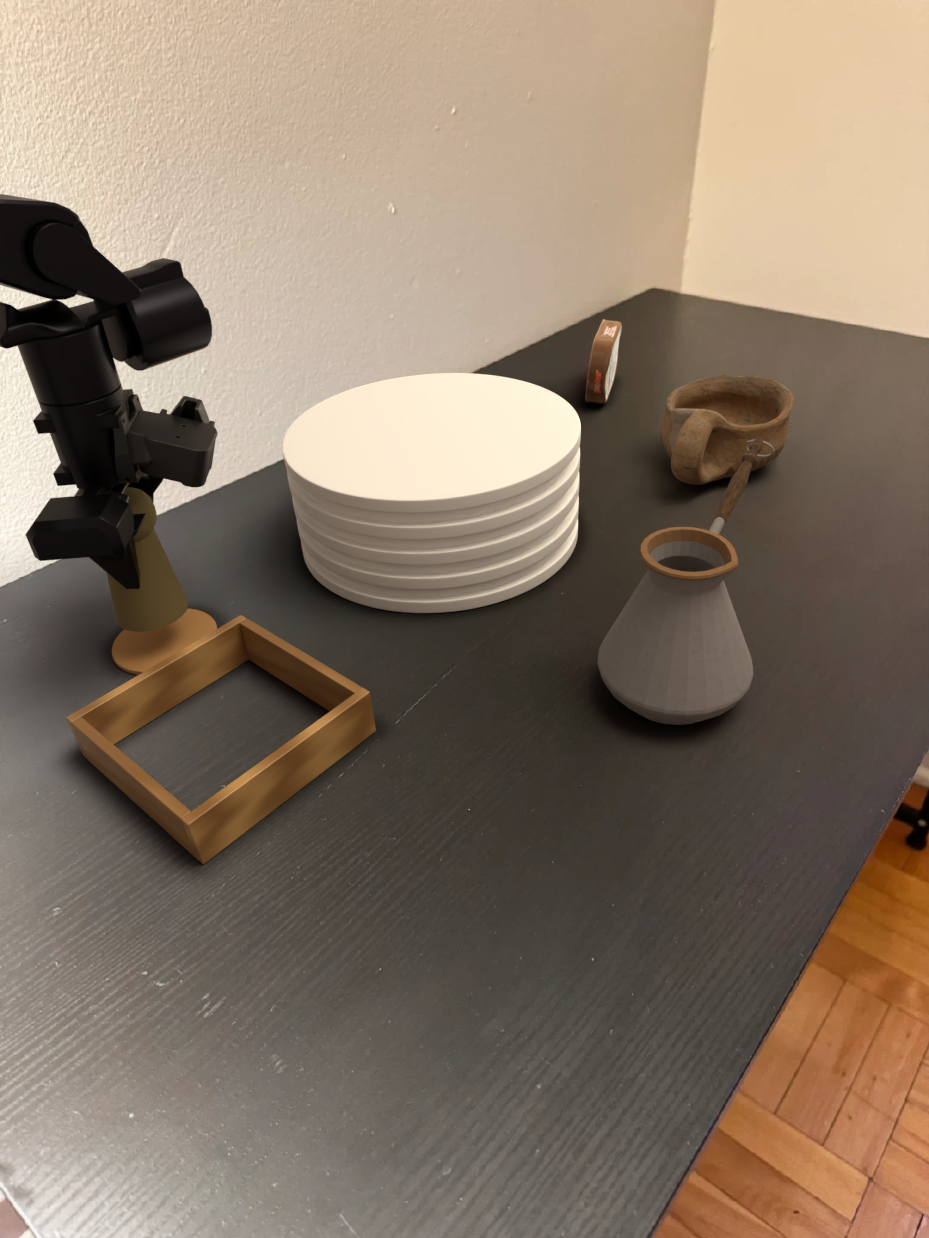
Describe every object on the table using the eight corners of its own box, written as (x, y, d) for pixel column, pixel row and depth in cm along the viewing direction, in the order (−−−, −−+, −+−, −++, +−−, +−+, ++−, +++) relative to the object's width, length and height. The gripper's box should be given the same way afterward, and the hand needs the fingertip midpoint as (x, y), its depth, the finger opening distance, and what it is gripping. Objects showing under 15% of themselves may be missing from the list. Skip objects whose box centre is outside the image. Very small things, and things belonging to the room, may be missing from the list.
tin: (599, 370, 119) (601, 310, 114) (621, 371, 119) (625, 310, 114) (582, 413, 108) (584, 348, 103) (607, 414, 107) (610, 349, 102)
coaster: (149, 690, 69) (147, 686, 69) (93, 648, 74) (92, 644, 74) (238, 636, 74) (237, 632, 74) (181, 600, 79) (180, 596, 79)
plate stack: (384, 653, 71) (367, 536, 64) (261, 520, 90) (238, 420, 84) (636, 545, 82) (644, 436, 75) (479, 447, 102) (474, 353, 95)
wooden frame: (203, 865, 55) (187, 824, 52) (83, 756, 63) (65, 717, 61) (376, 731, 64) (370, 691, 61) (250, 651, 72) (240, 614, 70)
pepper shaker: (176, 631, 69) (140, 513, 63) (104, 632, 69) (61, 516, 63) (196, 589, 74) (165, 476, 68) (129, 591, 74) (91, 478, 68)
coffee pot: (717, 765, 59) (748, 589, 50) (570, 709, 64) (574, 541, 55) (802, 607, 73) (839, 447, 64) (676, 572, 78) (693, 420, 69)
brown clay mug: (791, 507, 84) (777, 413, 79) (652, 522, 90) (631, 436, 85) (804, 431, 96) (794, 347, 91) (682, 449, 103) (666, 371, 98)
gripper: (163, 437, 53) (219, 633, 62) (215, 340, 68) (254, 510, 77) (-16, 450, 53) (67, 645, 62) (76, 350, 68) (132, 519, 77)
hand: (141, 572), depth 69 cm, fingers closed on pepper shaker, 4 cm apart
